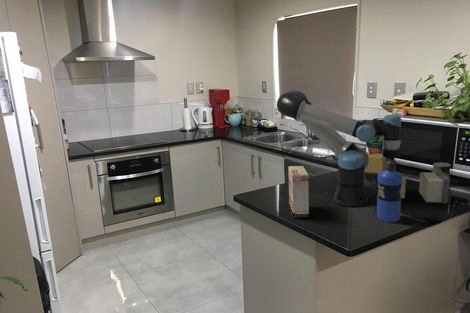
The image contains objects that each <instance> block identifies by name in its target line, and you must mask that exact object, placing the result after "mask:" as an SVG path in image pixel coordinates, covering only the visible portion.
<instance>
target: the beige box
mask: <svg viewBox="0 0 470 313" xmlns="http://www.w3.org/2000/svg"><path fill="white" fill-rule="evenodd" d="M402 175H403V180H402V185H401V191H400V195H401V199H405V198H406V197H405V196H406V183H407V182H406V181H407V179H406V176H405V175H404V174H403V173H402Z"/></svg>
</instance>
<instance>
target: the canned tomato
mask: <svg viewBox="0 0 470 313" xmlns="http://www.w3.org/2000/svg"><path fill="white" fill-rule="evenodd" d="M434 170H440V171H441V172H443V173H444V174H445V175H446V176H447V177H448V178H449V179H450V177H451V164H450V163H448V162H440V161H439V162H434V163H433V164H432V173H434Z"/></svg>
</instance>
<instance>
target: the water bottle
mask: <svg viewBox="0 0 470 313" xmlns="http://www.w3.org/2000/svg"><path fill="white" fill-rule="evenodd" d="M385 163H386V165H385V170H384V171H382V172H380V173H377V182H376V183H377V187H378V188H377V189H378V193H377V198H376V199H377V200H376V219H377V218H378V219H379V220H381V221H380V222H382V221H386V222H395V221H398V220H400V221H401V206H402V198H401V195H400V191H401V185H402V180H403V173H400V172H398V171H397V162H396V163H395V162H394V161H393V160H388V161H386V162H385ZM395 164H396V165H395ZM378 219H377V220H378ZM379 220H378V221H379ZM386 222H385V223H386Z"/></svg>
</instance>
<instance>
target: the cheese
mask: <svg viewBox="0 0 470 313" xmlns="http://www.w3.org/2000/svg"><path fill="white" fill-rule="evenodd" d="M382 154H383V153H373V154H372V153H371V154H368V153H367V155H368V165H367V167H366V168H365V170H364V173H367V174H368V173H369V174H378V173H380V172H382V171H384V170H385V164H386V163H385V162H386V157H383V155H382Z"/></svg>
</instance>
